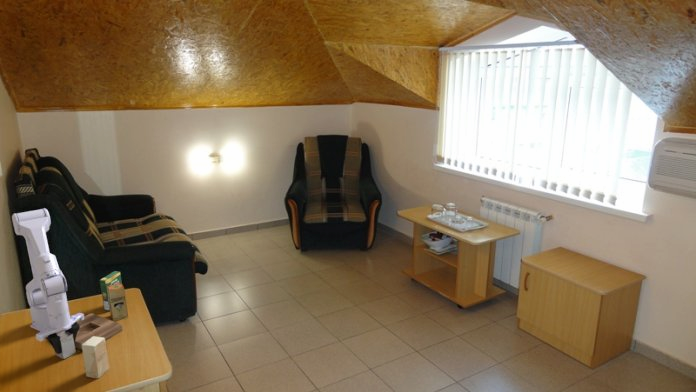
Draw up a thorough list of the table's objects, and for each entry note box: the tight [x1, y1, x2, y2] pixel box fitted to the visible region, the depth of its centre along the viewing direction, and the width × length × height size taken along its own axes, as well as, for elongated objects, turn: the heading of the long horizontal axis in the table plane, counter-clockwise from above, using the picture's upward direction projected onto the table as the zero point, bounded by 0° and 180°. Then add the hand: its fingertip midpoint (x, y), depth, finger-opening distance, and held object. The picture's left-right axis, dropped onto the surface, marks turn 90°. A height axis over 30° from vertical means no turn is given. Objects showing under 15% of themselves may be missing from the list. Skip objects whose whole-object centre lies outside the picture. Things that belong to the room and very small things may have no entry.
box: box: [81, 336, 110, 379], centre depth 145 cm, size 5×4×11 cm
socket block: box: [56, 312, 123, 351], centre depth 166 cm, size 16×14×2 cm
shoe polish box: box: [107, 283, 129, 322], centre depth 176 cm, size 5×5×12 cm
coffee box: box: [99, 270, 123, 312], centre depth 183 cm, size 8×3×13 cm, turn 163°
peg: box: [55, 331, 77, 360], centre depth 154 cm, size 4×4×7 cm
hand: (65, 348), depth 154 cm, fingers closed on peg, 4 cm apart
